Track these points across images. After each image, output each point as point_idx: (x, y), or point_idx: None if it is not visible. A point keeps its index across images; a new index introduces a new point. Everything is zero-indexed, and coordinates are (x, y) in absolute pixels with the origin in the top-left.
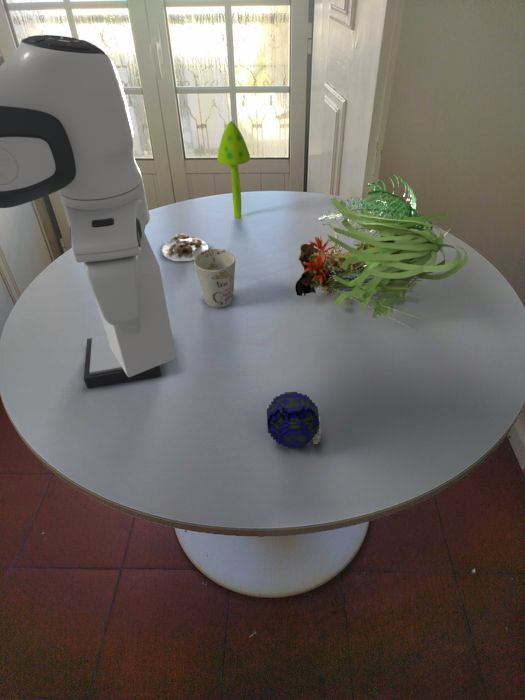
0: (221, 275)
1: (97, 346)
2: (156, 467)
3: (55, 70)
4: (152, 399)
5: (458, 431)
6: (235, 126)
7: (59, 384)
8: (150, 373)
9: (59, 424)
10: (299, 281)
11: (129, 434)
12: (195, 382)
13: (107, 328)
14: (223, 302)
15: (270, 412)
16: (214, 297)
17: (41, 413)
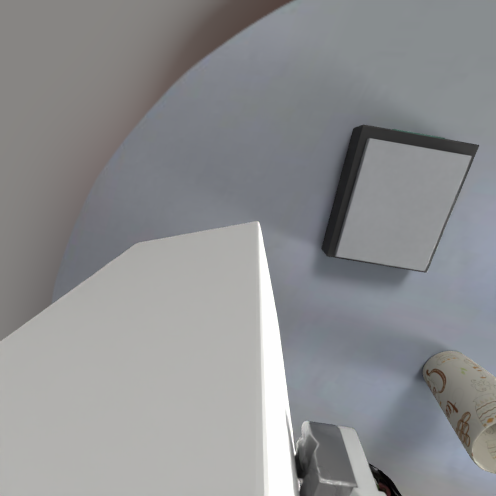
0: (462, 430)
1: (436, 163)
2: (156, 204)
3: None
4: (279, 225)
5: None
6: None
7: (393, 75)
8: (327, 236)
9: (292, 68)
10: (391, 483)
11: (225, 180)
12: (284, 288)
13: (191, 267)
14: (427, 376)
15: None
16: (440, 375)
17: (334, 34)
